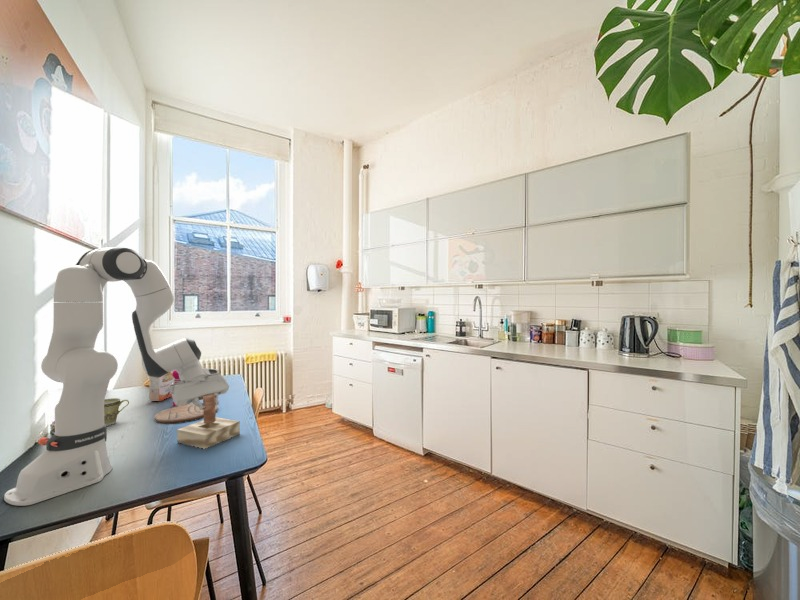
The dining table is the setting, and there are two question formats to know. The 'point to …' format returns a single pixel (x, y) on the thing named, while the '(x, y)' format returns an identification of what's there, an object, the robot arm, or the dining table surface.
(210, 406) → the peg
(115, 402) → the ceramic cup
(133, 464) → the dining table surface
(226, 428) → the socket block
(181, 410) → the trivet
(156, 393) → the cracker box
